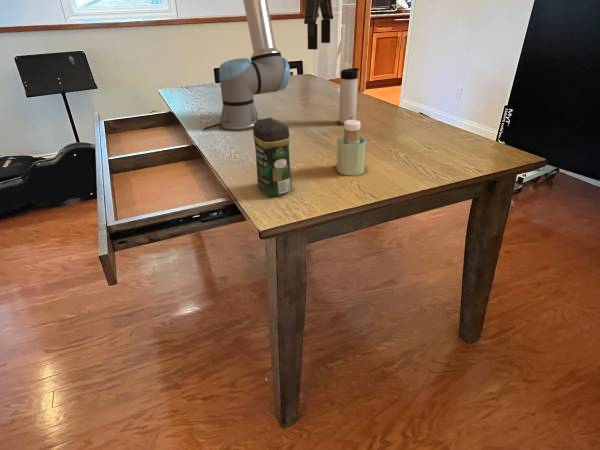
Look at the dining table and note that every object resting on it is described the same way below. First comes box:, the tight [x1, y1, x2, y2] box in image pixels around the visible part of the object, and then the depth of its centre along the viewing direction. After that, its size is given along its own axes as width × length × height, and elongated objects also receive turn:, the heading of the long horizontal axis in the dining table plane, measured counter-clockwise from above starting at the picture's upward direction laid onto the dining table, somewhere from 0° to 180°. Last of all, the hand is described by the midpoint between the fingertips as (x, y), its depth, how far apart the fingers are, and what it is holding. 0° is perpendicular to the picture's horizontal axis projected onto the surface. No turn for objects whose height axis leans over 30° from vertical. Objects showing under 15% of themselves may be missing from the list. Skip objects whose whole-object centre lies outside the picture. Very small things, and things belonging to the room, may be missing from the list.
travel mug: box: [338, 67, 360, 126], centre depth 154 cm, size 6×7×20 cm
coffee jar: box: [252, 117, 293, 197], centre depth 105 cm, size 10×8×19 cm
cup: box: [336, 135, 367, 176], centre depth 118 cm, size 8×8×9 cm
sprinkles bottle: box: [343, 119, 362, 145], centre depth 116 cm, size 5×5×13 cm
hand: (319, 46), depth 123 cm, fingers open, 13 cm apart
